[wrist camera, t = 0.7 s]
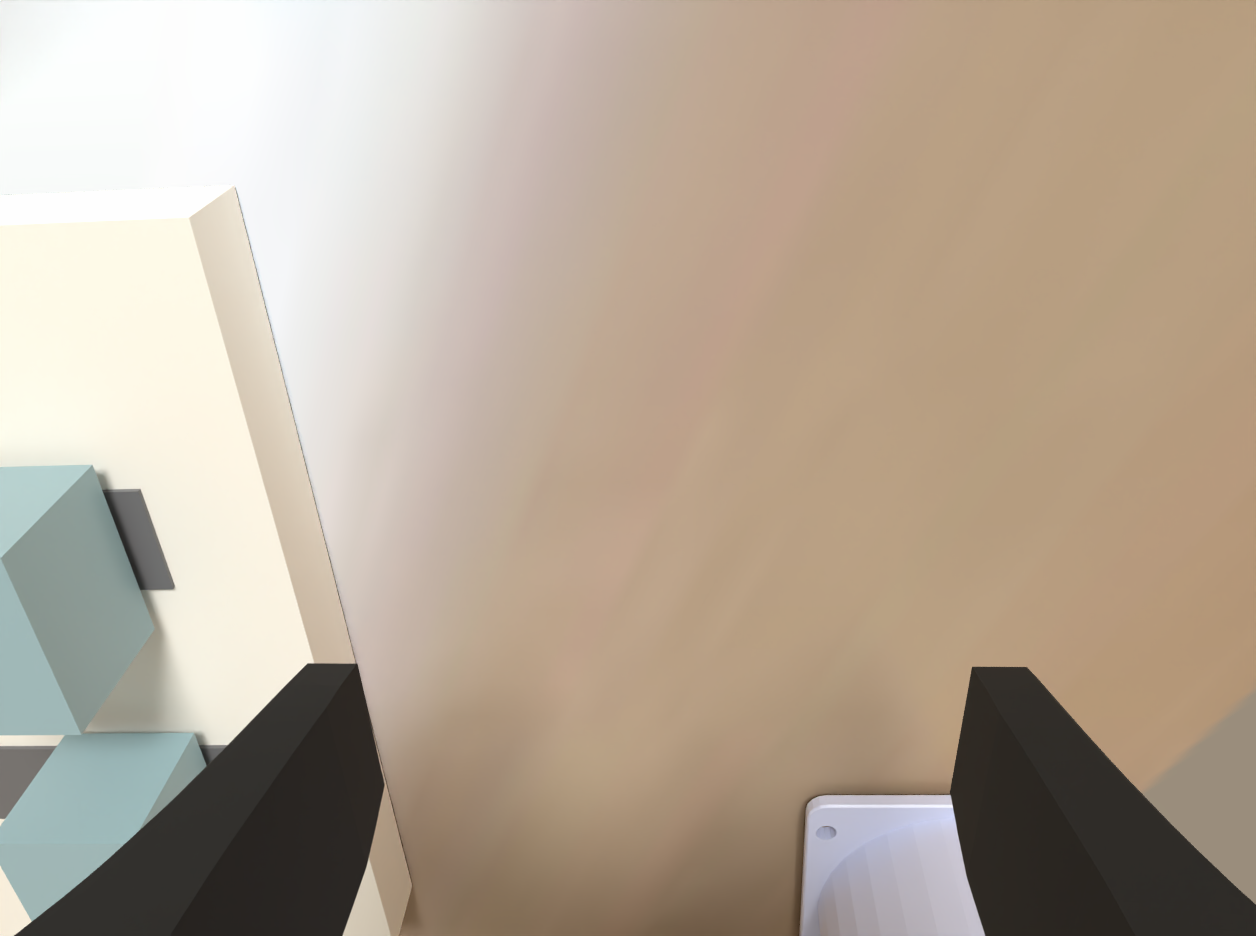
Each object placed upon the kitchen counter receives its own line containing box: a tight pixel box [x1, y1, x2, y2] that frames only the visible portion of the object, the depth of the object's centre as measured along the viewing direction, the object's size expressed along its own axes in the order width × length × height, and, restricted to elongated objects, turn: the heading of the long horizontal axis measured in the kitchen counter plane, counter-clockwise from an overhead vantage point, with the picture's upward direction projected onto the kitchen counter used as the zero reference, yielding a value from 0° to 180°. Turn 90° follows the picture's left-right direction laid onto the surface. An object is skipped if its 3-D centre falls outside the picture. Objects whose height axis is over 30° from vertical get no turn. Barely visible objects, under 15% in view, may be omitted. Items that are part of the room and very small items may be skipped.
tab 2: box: [0, 733, 206, 921], centre depth 22 cm, size 4×3×3 cm
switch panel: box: [0, 185, 412, 936], centre depth 23 cm, size 20×14×2 cm
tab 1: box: [0, 465, 155, 735], centre depth 19 cm, size 4×3×3 cm
